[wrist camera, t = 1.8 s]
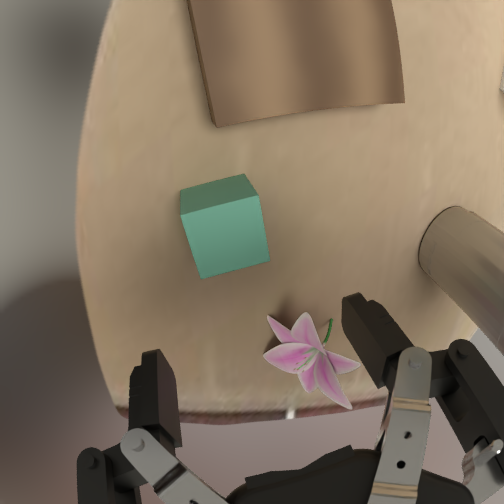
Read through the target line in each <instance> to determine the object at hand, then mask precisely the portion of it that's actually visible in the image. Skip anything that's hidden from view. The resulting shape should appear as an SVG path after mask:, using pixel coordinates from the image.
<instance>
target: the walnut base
mask: <svg viewBox="0 0 504 504" xmlns="http://www.w3.org/2000/svg"><path fill="white" fill-rule="evenodd" d="M187 4H188V9H189V13H190V18H191V23H192V28H193V33H194V38H195V43H196V48H197V52H198V57H199V62H200V67H201V71H202V76H203V81H204V86H205V90H206V95H207V100H208V105H209V109H210V114H211V119H212V122H213V123H214V125H215V126H216V127H217V128H218V127H222V126H227V125H232V124H236V123H241V122H246V121H251V120H257V119H262V118H268V117H273V116H279V115H285V114H292V113H299V112H306V111H313V110H321V109H330V108H339V107H349V106H361V105H375V104H393V103H405V97H404V84H403V74H402V64H401V56H400V48H399V41H398V35H397V28H396V23H395V17H394V12H393V7H392V2H391V0H187Z"/></svg>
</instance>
